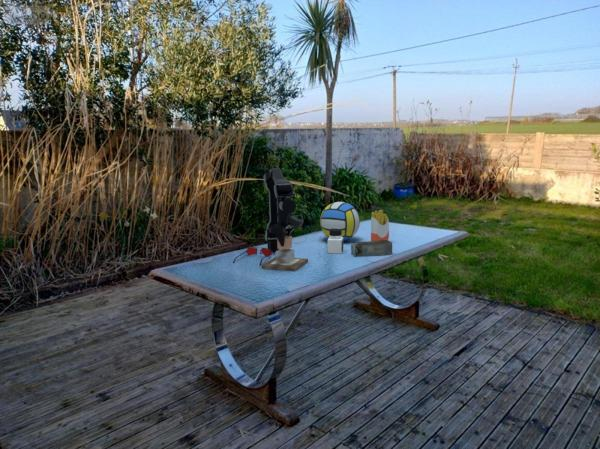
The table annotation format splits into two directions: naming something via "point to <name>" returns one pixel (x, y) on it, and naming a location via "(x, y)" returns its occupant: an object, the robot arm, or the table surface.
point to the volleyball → (340, 219)
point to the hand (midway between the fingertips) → (284, 245)
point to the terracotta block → (285, 243)
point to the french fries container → (379, 226)
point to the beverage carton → (371, 248)
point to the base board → (284, 267)
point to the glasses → (254, 251)
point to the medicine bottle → (335, 241)
